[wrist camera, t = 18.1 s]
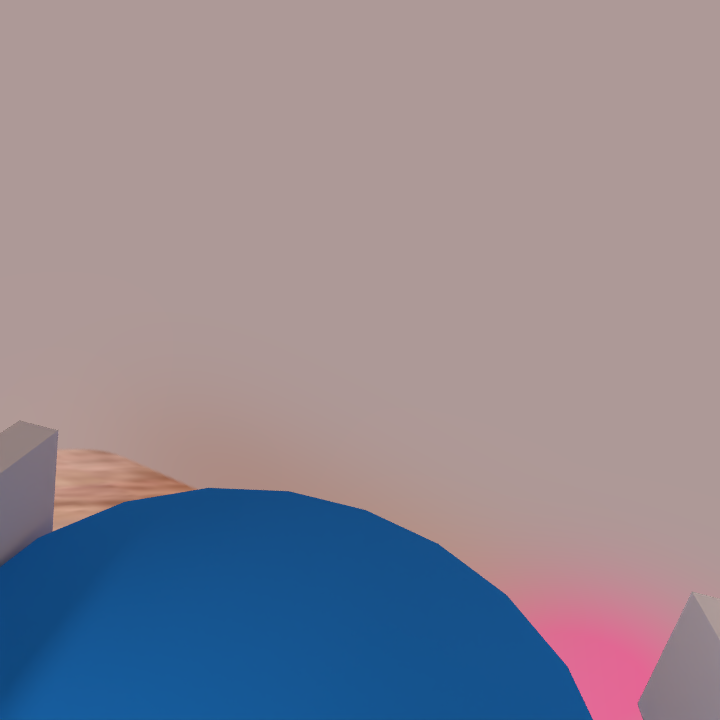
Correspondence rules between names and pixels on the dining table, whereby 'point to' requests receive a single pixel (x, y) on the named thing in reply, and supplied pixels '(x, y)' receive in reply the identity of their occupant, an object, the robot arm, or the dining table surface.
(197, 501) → the thermos
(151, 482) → the dining table surface
